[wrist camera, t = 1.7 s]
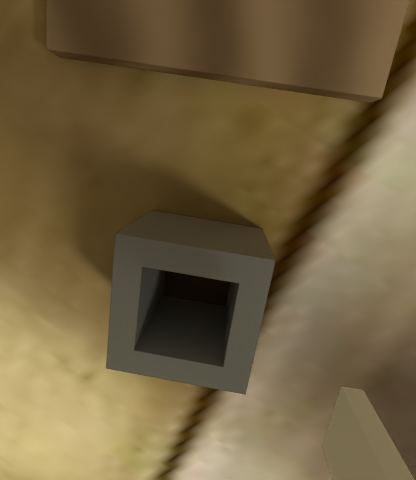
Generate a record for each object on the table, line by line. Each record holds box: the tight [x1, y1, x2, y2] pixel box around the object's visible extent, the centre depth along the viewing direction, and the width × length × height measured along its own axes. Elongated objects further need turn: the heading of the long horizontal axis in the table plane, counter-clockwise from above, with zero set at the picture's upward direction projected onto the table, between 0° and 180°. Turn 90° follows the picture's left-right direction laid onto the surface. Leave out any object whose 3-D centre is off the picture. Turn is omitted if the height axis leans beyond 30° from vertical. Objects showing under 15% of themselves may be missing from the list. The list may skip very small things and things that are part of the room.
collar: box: [106, 210, 275, 394], centre depth 19 cm, size 8×8×7 cm
